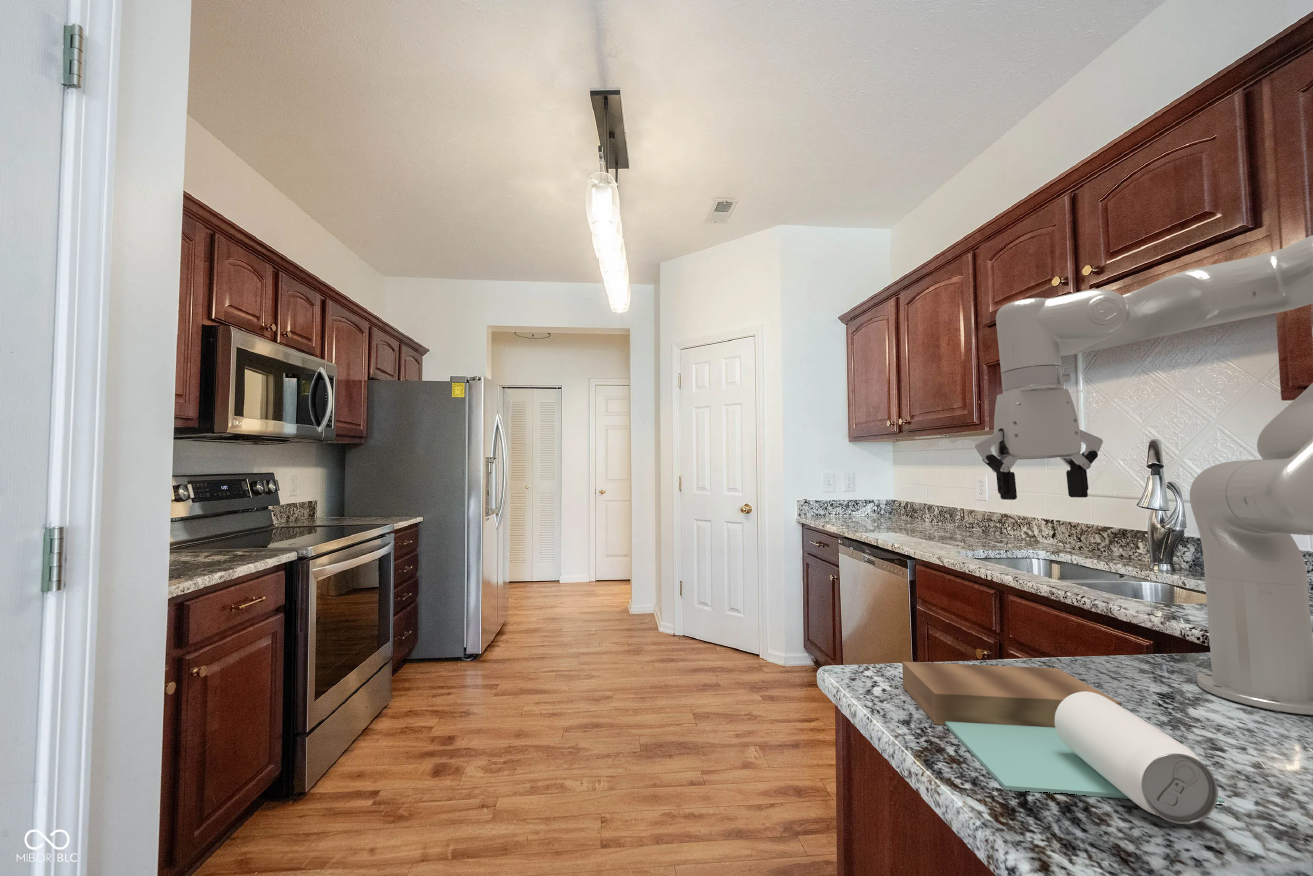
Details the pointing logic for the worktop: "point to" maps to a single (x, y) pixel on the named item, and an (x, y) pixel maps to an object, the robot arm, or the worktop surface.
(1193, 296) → the robot arm
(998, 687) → the board
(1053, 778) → the mat
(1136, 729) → the can
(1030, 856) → the worktop surface
